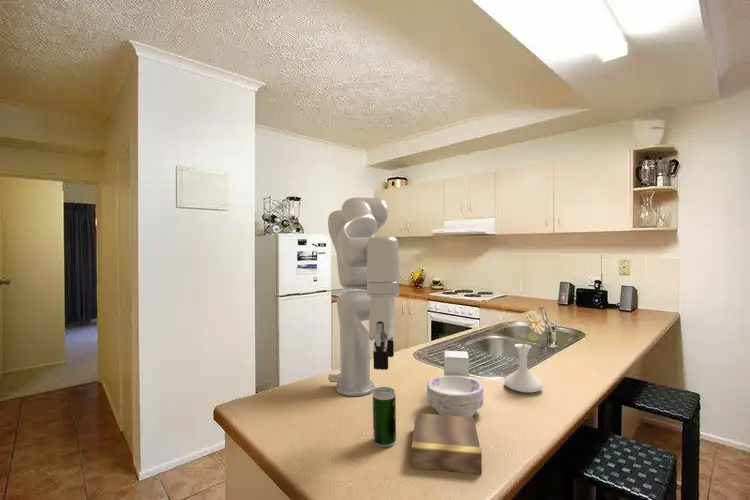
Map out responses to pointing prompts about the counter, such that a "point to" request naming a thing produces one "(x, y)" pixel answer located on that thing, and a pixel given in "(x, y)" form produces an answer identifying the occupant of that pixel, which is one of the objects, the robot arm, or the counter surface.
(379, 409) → the beer can
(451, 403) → the paper bowls
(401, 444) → the counter surface
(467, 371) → the supplement box
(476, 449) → the gold striped gift box
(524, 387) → the flower in vase
